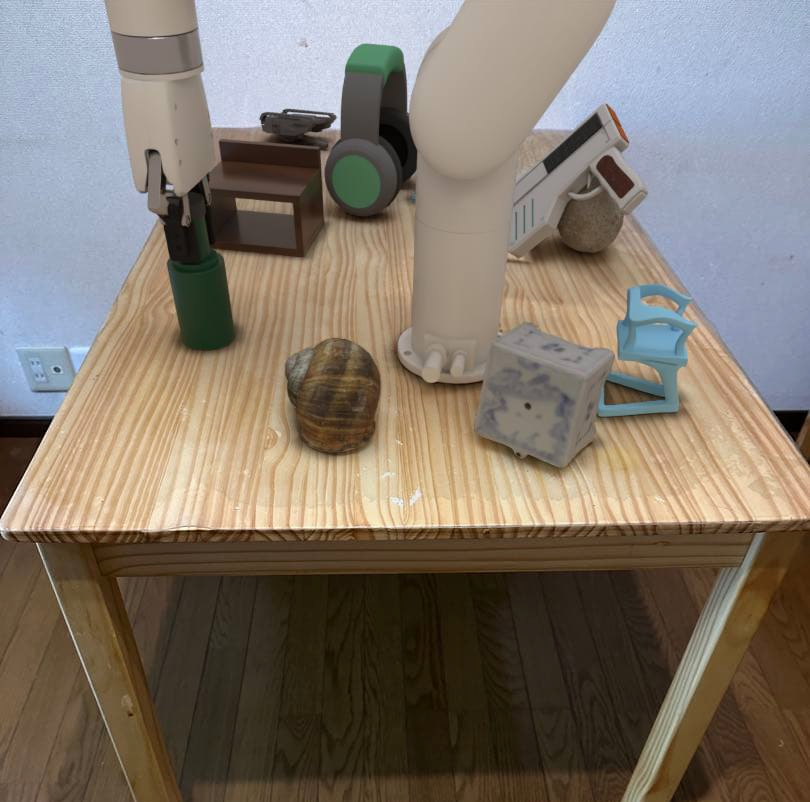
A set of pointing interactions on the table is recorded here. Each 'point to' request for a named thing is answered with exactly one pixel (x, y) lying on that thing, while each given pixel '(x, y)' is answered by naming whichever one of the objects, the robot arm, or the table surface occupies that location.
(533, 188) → the futuristic handgun
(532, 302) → the table surface
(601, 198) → the decorative stone
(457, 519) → the table surface
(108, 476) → the table surface
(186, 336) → the bottle
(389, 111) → the headphones
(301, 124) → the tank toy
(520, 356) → the incense holder
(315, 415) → the seashell
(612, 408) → the chair
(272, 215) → the box
